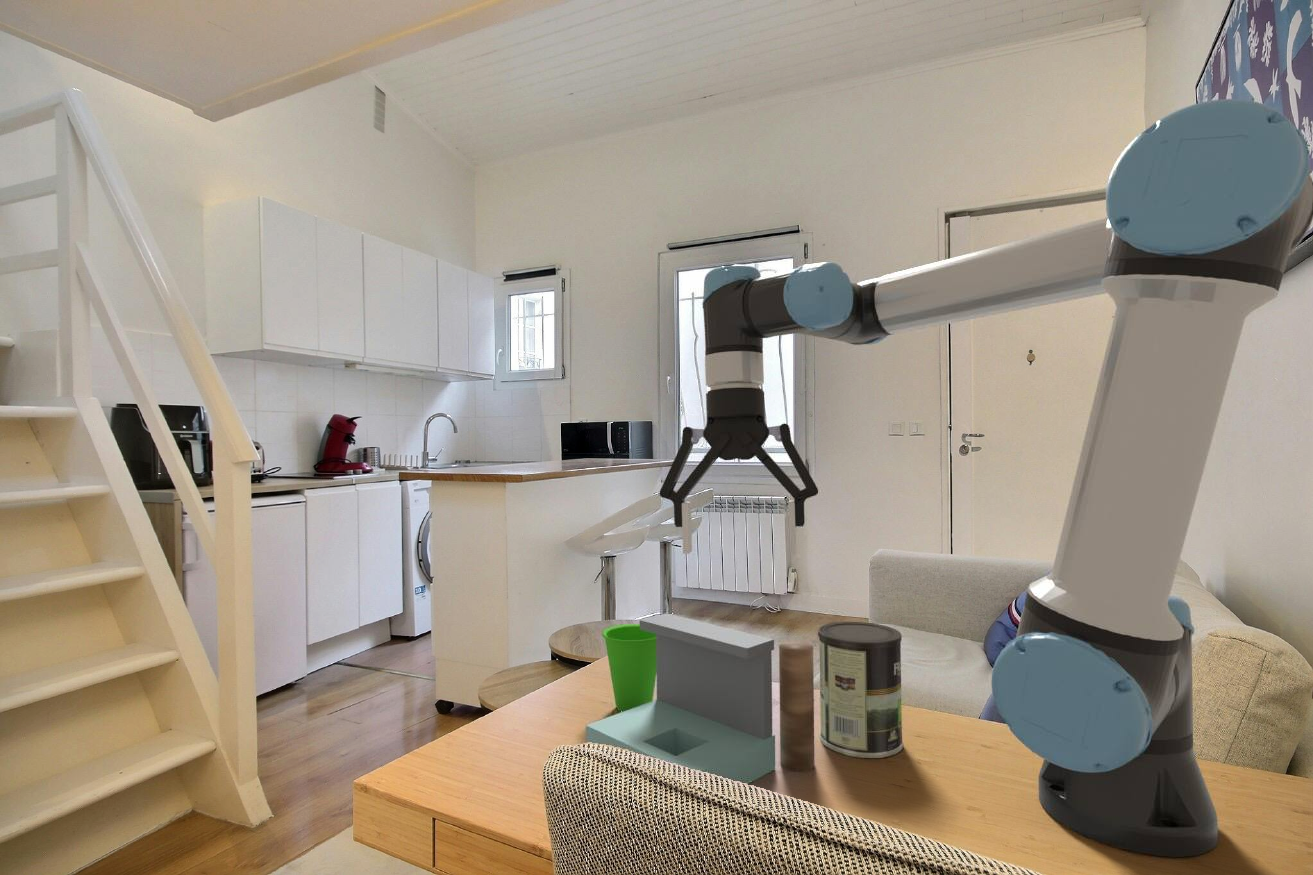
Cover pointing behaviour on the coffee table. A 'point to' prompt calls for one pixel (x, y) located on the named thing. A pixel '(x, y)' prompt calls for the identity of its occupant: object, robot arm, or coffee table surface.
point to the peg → (796, 706)
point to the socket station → (702, 702)
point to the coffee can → (860, 689)
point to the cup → (631, 664)
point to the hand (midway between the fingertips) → (739, 552)
